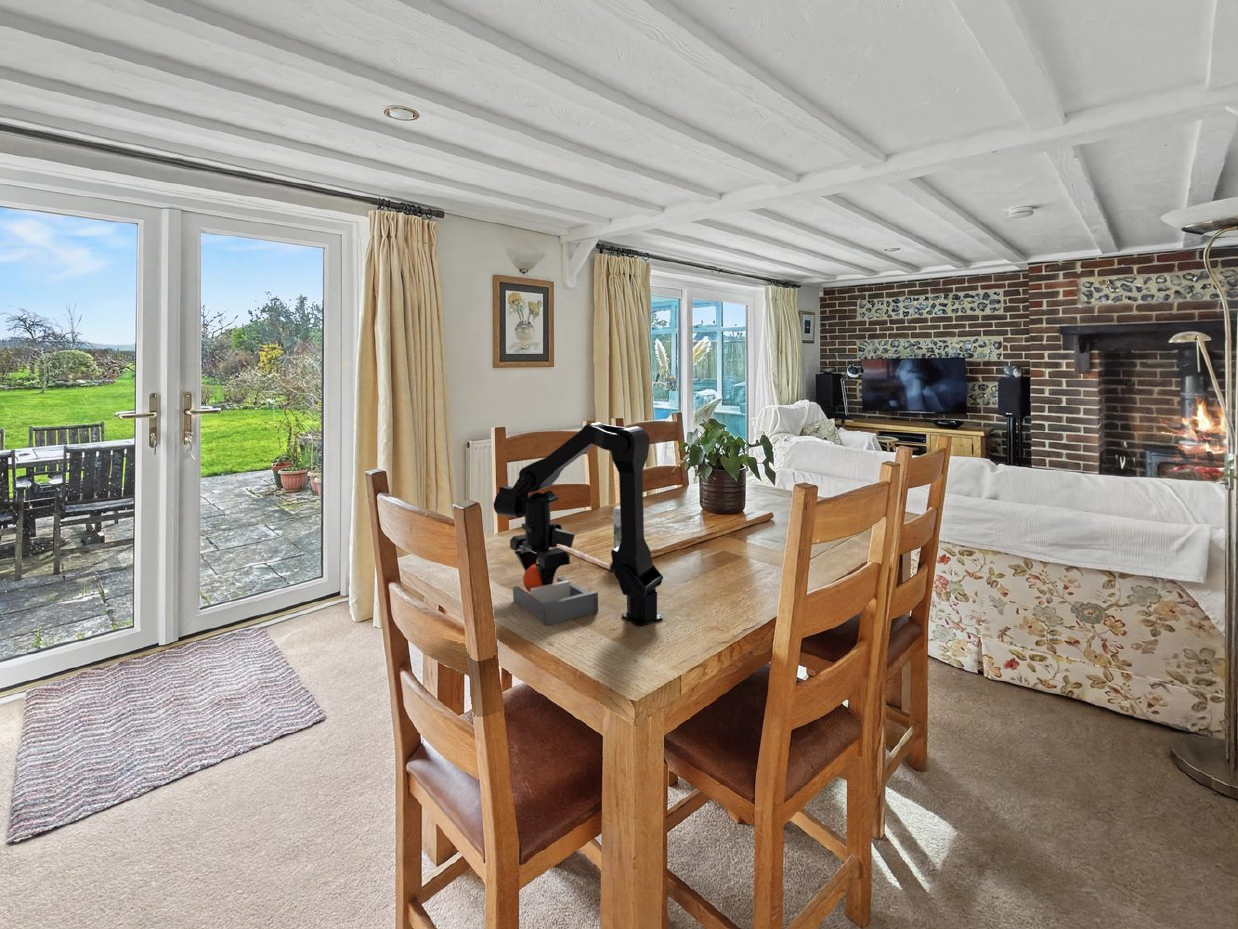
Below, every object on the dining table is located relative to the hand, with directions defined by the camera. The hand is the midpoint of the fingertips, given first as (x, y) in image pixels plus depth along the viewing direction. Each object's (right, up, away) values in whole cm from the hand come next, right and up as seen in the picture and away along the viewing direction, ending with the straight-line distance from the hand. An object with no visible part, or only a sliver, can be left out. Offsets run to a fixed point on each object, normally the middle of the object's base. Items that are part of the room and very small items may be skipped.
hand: (539, 586), depth 143 cm
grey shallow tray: (+4, -3, -6) cm, 8 cm away
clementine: (0, -2, 0) cm, 2 cm away
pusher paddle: (+3, -3, -4) cm, 6 cm away
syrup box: (+20, +2, +27) cm, 34 cm away
